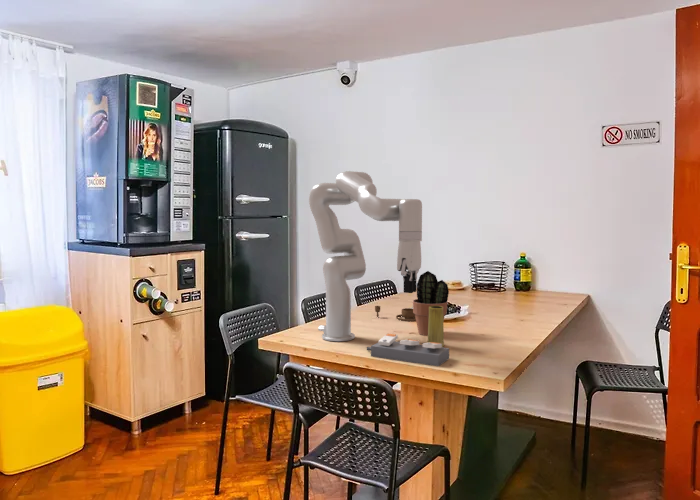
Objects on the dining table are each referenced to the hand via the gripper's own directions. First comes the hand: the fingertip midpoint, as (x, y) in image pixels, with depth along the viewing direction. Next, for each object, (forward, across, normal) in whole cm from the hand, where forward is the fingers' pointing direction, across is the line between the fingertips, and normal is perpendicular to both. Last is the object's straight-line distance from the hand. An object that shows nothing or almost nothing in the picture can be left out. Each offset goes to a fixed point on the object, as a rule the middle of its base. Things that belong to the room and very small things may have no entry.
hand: (410, 291), depth 179 cm
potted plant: (+22, -36, -7) cm, 43 cm away
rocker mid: (+17, 0, 0) cm, 17 cm away
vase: (+22, -19, +2) cm, 29 cm away
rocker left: (+17, 0, -8) cm, 19 cm away
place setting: (+23, -60, -30) cm, 70 cm away
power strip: (+22, 0, -2) cm, 22 cm away
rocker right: (+17, 0, +8) cm, 19 cm away
